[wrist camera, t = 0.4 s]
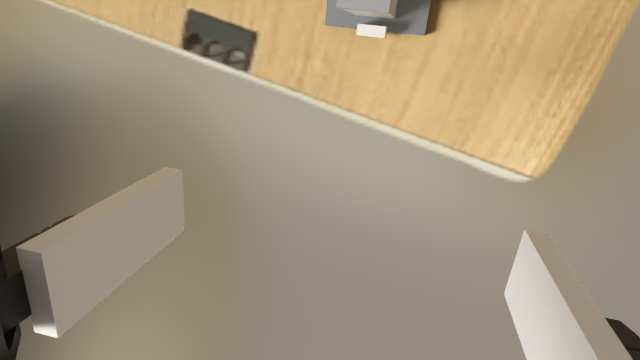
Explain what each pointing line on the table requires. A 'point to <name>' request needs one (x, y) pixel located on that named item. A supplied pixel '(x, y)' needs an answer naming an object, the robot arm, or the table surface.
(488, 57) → the table surface
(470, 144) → the table surface
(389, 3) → the block
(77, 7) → the table surface
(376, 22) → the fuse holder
